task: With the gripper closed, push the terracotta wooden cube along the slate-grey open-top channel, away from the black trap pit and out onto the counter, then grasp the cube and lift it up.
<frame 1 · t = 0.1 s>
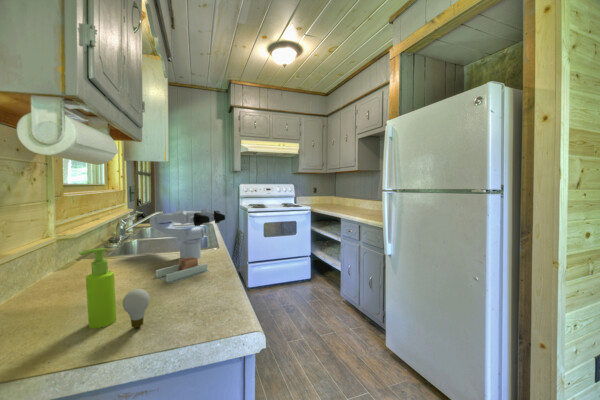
hand: (216, 218, 111), 22 cm above the counter, tool horizontal, fingers open, 7 cm apart
channel: (182, 277, 104), on the counter
cube: (188, 271, 105), point 1 cm above the counter, touching channel
soap dispenser: (100, 324, 70), on the counter
light bulb: (137, 328, 68), on the counter
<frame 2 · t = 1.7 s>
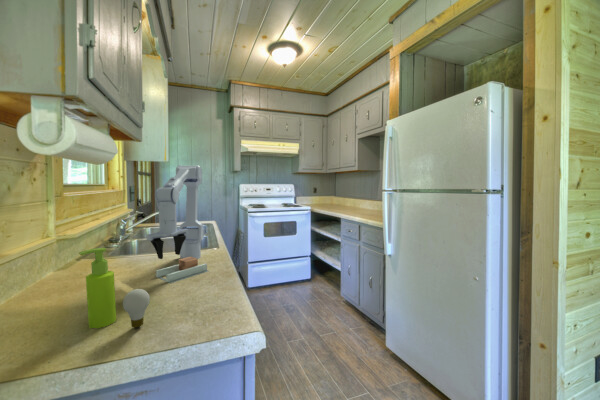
hand: (169, 256, 99), 9 cm above the counter, tool pointing down, fingers open, 6 cm apart
nothing on the counter moved.
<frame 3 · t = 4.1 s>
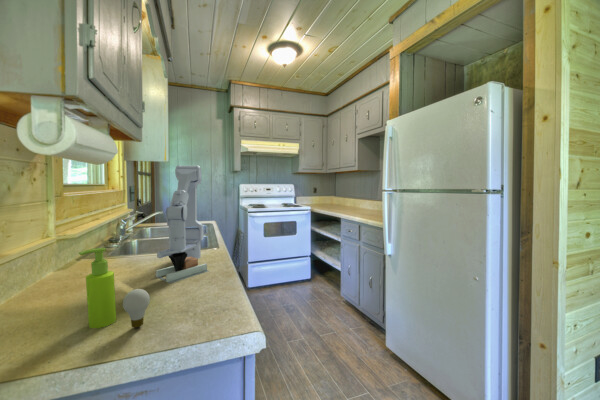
hand: (178, 272, 102), 2 cm above the counter, tool pointing down, fingers closed
cube: (188, 271, 105), point 2 cm above the counter, touching channel, gripper
everything else where it was.
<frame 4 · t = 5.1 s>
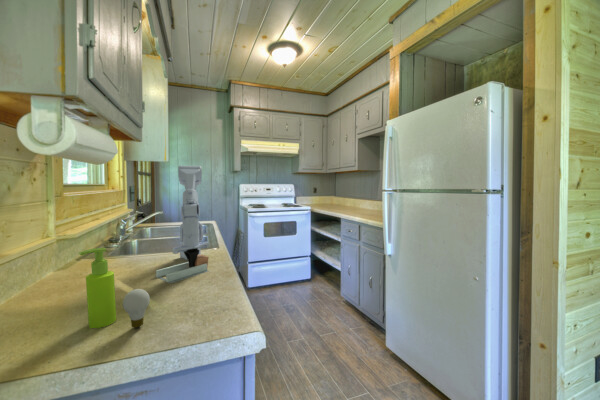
hand: (192, 267, 106), 3 cm above the counter, tool pointing down, fingers closed, pressing on cube
cube: (198, 268, 109), point 2 cm above the counter, tilted 9°, touching channel, gripper
everything else where it was.
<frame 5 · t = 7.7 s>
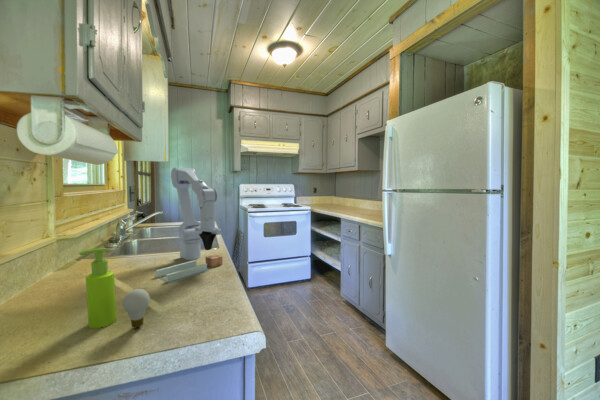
hand: (208, 249, 112), 8 cm above the counter, tool pointing down, fingers closed
cube: (208, 263, 113), point 2 cm above the counter, tilted 90°
everything else where it was.
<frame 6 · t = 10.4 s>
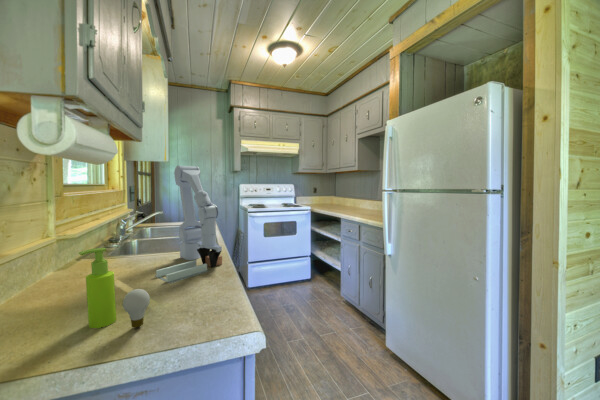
hand: (209, 265, 113), 1 cm above the counter, tool pointing down, fingers closed on cube, 5 cm apart
cube: (208, 263, 113), point 2 cm above the counter, tilted 90°, touching gripper
everything else where it was.
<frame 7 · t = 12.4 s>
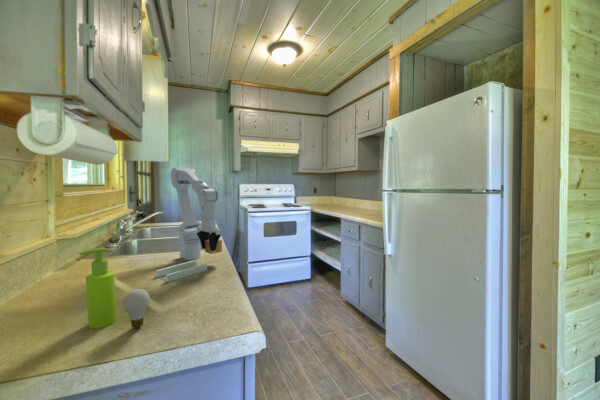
hand: (209, 249, 112), 8 cm above the counter, tool pointing down, fingers closed on cube, 5 cm apart
cube: (208, 247, 112), point 9 cm above the counter, tilted 90°, touching gripper
everything else where it was.
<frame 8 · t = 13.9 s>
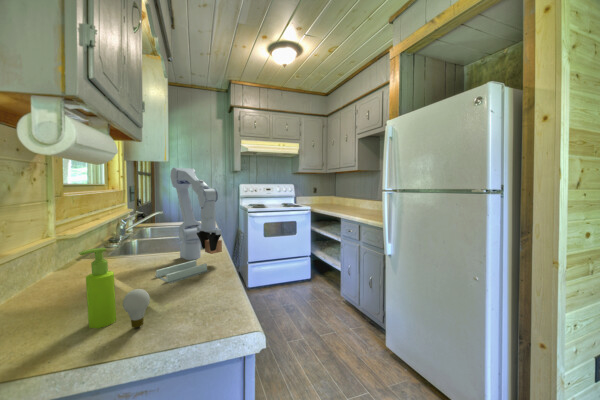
hand: (209, 249, 112), 8 cm above the counter, tool pointing down, fingers closed on cube, 5 cm apart
cube: (208, 247, 112), point 9 cm above the counter, tilted 90°, touching gripper
everything else where it was.
at the end: the gripper is holding cube; cube inside the target area on the channel (0.1 cm from its centre), point 9.4 cm above the channel's base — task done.
